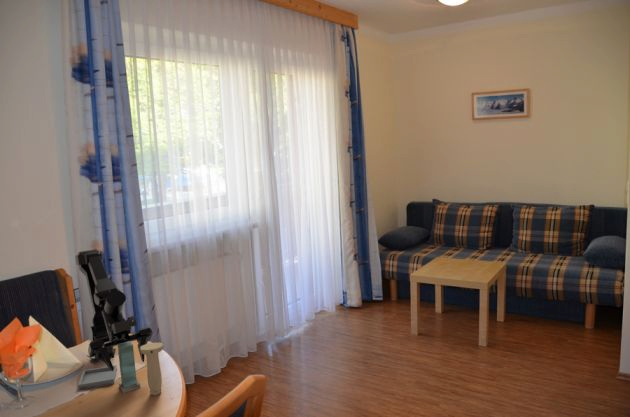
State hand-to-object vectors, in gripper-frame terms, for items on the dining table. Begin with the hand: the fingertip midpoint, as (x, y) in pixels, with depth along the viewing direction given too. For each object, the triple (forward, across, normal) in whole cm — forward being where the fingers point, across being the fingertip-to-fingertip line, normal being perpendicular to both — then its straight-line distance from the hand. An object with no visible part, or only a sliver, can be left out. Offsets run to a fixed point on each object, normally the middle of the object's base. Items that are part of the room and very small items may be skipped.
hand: (128, 366), depth 155 cm
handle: (+11, +5, 0) cm, 12 cm away
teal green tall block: (+4, 0, +6) cm, 7 cm away
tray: (-4, -6, +14) cm, 16 cm away
